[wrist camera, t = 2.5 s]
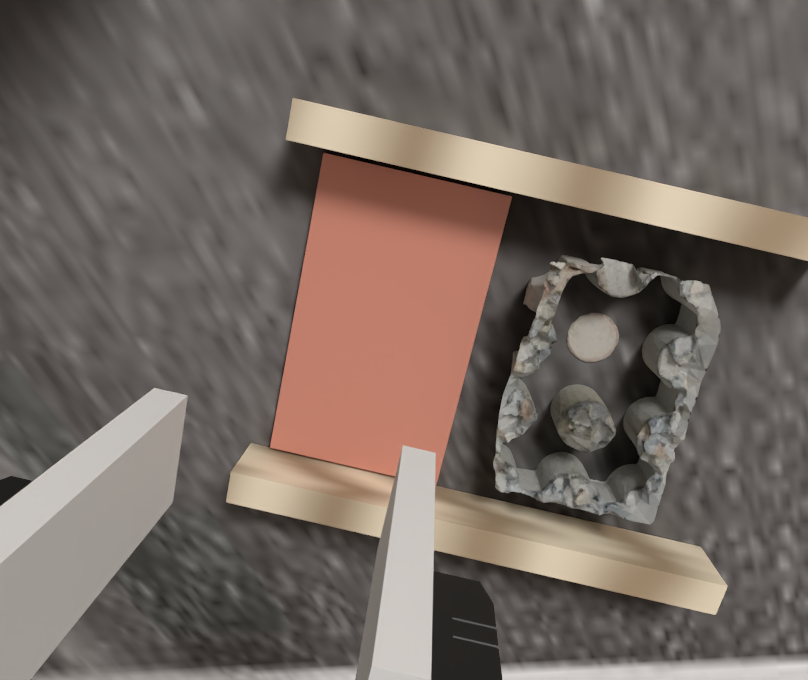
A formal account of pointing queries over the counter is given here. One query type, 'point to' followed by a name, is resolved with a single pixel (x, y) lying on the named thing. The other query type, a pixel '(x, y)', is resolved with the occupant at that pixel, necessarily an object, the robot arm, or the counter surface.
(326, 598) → the counter surface
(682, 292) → the egg carton
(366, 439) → the plate
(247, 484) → the channel
